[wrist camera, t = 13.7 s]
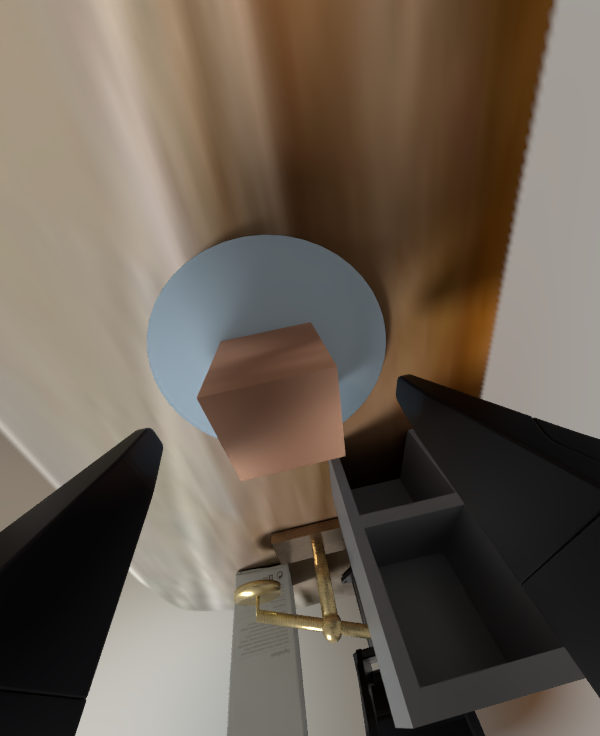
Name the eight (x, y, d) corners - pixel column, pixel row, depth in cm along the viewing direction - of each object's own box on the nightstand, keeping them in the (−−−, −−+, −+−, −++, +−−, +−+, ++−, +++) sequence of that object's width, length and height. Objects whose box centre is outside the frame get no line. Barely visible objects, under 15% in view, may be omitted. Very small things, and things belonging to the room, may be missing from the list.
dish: (326, 445, 15) (330, 457, 14) (150, 418, 12) (141, 432, 11) (417, 291, 11) (431, 295, 10) (168, 179, 7) (156, 171, 7)
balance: (392, 505, 21) (453, 630, 14) (388, 529, 24) (439, 645, 17) (230, 543, 20) (214, 695, 13) (245, 564, 23) (237, 700, 16)
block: (310, 322, 10) (337, 366, 6) (321, 392, 12) (345, 455, 8) (221, 341, 9) (196, 398, 6) (247, 409, 11) (241, 481, 8)
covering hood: (449, 552, 15) (530, 688, 10) (354, 576, 14) (395, 727, 10) (475, 500, 11) (613, 669, 7) (352, 530, 11) (413, 728, 6)
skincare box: (235, 570, 23) (201, 969, 11) (291, 559, 24) (323, 922, 11) (247, 596, 27) (233, 903, 15) (294, 586, 28) (320, 872, 15)
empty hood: (405, 481, 19) (448, 553, 15) (332, 497, 19) (354, 577, 14) (415, 428, 16) (475, 501, 11) (326, 447, 15) (352, 531, 11)
